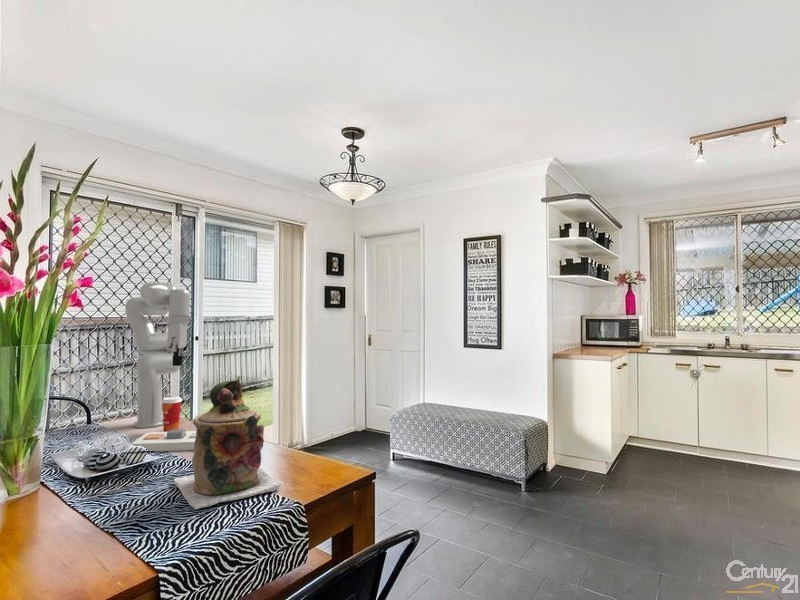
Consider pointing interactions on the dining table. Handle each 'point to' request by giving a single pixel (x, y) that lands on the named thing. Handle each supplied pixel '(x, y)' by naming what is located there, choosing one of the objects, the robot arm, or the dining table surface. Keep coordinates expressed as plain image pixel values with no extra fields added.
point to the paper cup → (171, 413)
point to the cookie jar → (226, 452)
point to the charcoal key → (176, 433)
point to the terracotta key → (153, 436)
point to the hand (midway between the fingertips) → (177, 365)
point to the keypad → (166, 442)
